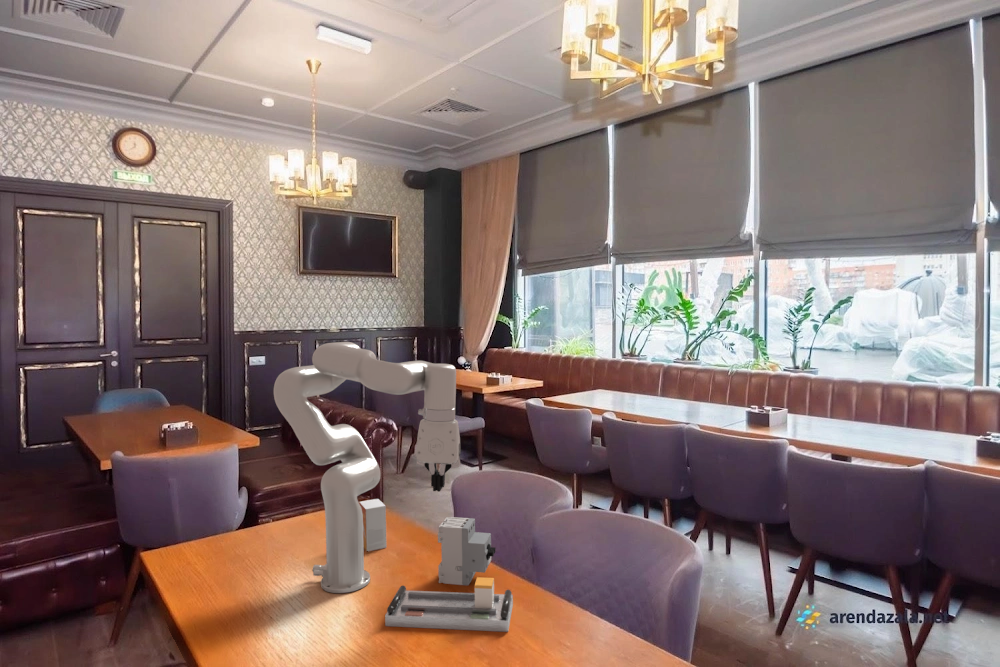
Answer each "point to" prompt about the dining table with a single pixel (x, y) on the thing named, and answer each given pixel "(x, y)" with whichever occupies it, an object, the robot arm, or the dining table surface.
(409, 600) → the panel
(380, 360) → the robot arm
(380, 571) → the dining table surface
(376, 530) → the small box
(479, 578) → the toggle
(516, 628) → the dining table surface
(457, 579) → the circuit breaker
